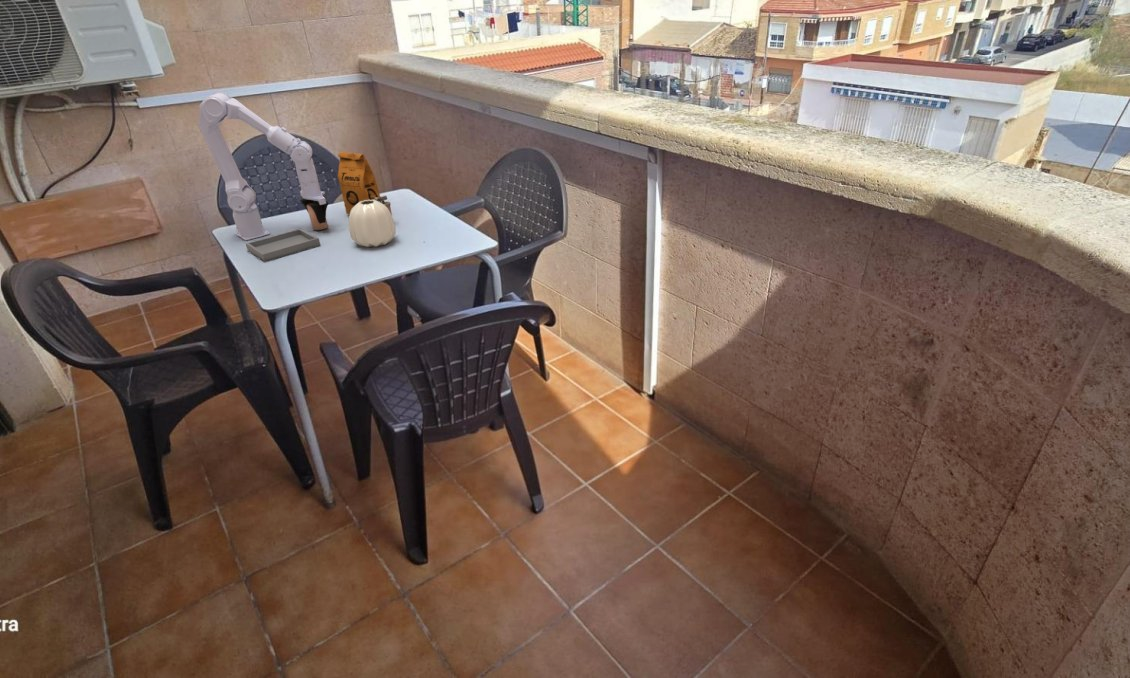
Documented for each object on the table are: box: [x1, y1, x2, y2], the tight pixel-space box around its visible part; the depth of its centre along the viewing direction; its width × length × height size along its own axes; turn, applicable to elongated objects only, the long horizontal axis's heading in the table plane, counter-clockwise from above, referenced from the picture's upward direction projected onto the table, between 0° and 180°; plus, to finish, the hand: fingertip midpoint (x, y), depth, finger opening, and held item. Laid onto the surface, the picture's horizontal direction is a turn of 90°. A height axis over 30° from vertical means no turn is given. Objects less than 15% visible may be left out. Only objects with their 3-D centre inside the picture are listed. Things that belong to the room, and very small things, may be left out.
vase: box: [348, 200, 397, 248], centre depth 182 cm, size 14×14×13 cm
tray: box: [245, 228, 321, 263], centre depth 182 cm, size 14×18×2 cm
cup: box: [307, 202, 329, 231], centre depth 195 cm, size 5×5×8 cm
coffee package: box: [337, 151, 381, 215], centre depth 204 cm, size 10×12×22 cm
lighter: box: [374, 195, 393, 216], centre depth 196 cm, size 8×3×10 cm, turn 143°
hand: (318, 220), depth 196 cm, fingers closed on cup, 5 cm apart
